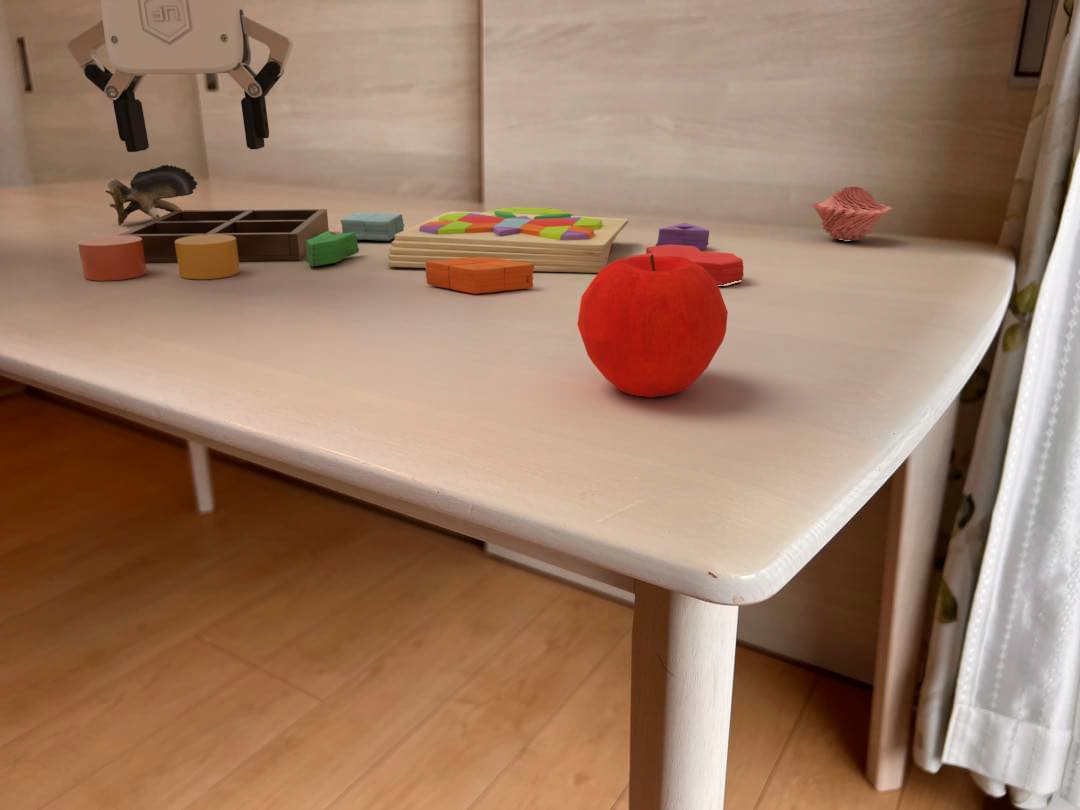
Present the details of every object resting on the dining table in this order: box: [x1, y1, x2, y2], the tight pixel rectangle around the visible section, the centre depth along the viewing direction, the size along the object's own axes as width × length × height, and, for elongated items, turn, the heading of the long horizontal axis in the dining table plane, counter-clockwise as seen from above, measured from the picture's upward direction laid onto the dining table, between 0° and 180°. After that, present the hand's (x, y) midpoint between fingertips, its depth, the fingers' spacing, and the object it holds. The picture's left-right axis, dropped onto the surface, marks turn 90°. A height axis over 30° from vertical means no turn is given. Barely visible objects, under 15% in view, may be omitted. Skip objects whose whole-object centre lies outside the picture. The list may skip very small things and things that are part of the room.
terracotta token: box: [77, 234, 148, 282], centre depth 74 cm, size 5×5×3 cm
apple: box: [577, 254, 729, 398], centre depth 46 cm, size 8×8×7 cm
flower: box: [810, 186, 894, 241], centre depth 89 cm, size 8×8×6 cm
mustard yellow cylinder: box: [175, 234, 241, 281], centre depth 75 cm, size 5×5×3 cm
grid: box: [116, 208, 330, 263], centre depth 87 cm, size 16×16×2 cm
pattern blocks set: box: [306, 206, 745, 295], centre depth 83 cm, size 38×34×3 cm
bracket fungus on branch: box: [105, 164, 199, 226], centre depth 101 cm, size 8×7×9 cm
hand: (197, 149), depth 71 cm, fingers open, 9 cm apart
